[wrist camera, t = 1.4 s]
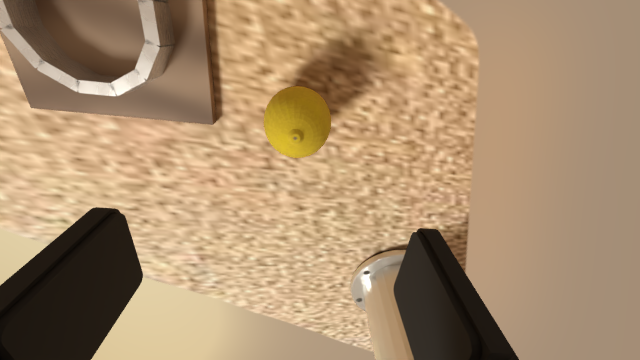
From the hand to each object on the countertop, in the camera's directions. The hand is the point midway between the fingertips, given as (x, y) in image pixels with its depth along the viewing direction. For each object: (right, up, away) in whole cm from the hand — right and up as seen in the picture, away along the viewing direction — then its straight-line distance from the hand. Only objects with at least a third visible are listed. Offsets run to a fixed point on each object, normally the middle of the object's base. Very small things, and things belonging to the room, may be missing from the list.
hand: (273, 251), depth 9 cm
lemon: (0, +9, +17) cm, 20 cm away
